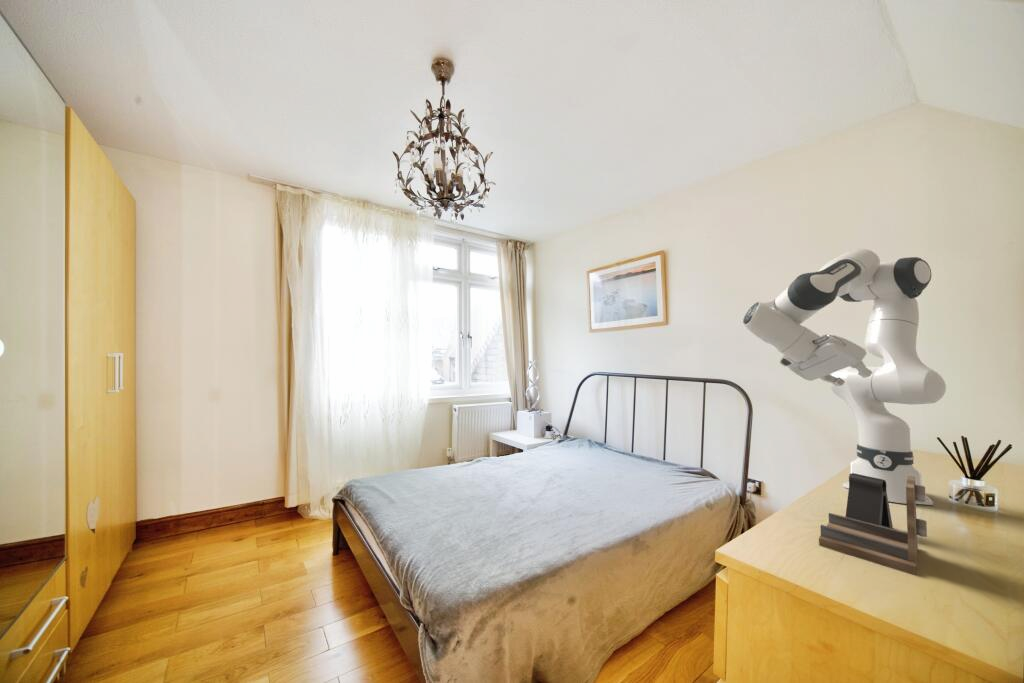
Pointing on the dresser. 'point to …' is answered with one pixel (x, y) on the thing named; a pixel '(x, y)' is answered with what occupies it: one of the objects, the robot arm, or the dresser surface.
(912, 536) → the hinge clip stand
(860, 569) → the dresser surface
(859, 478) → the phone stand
